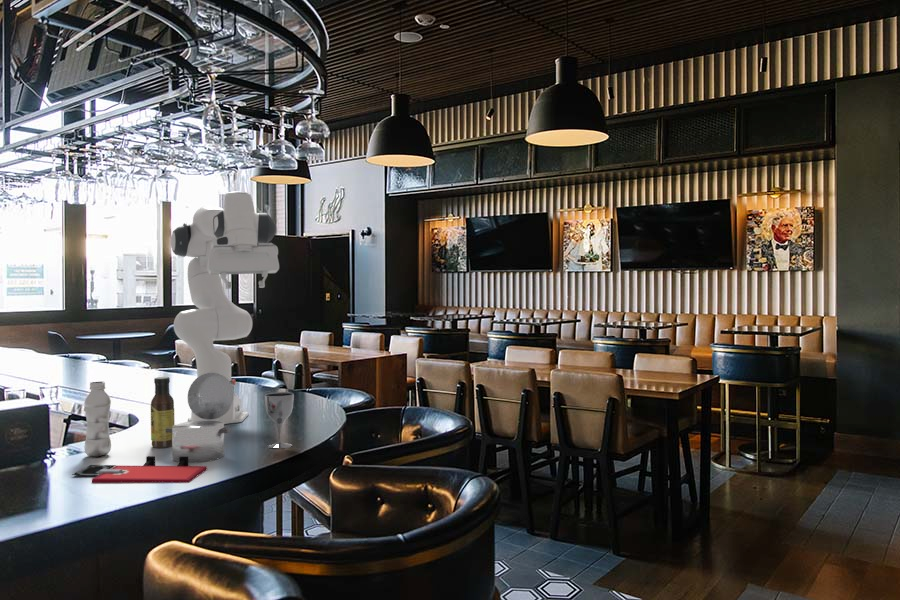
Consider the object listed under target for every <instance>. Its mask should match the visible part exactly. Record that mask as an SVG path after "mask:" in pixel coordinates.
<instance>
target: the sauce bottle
mask: <svg viewBox="0 0 900 600" xmlns="http://www.w3.org/2000/svg"><path fill="white" fill-rule="evenodd" d="M170 379H171V378H170V376H158V377H154V380H153V381H154V382H153V383H154V396H153V397H152V399H151V402H150V440H151V446H152V447H153V448H156V449H157V448H158V449H165V447H166V448H170V447H172V433H166V429H167V428H169V427H173V426H174V425H176V424H175V404H174V403H175V401H174V398H173V396H172V395H171V394H170V382H171V381H170Z"/></svg>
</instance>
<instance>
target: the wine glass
mask: <svg viewBox="0 0 900 600" xmlns="http://www.w3.org/2000/svg"><path fill="white" fill-rule="evenodd" d="M294 398H295V397H294V393H293V392H289V391H288V392H287V391H280V392H279V391H277V392H270V393H269V392H268V393H265V394H264V404H265V405H264V406H265V411H266V413H267V415H268V416H269V418H270V419H271V420H272V421H273V423H275V425H276V429H277V438H278V439H277V442H276V443H273V444H272V445H271V444H269V447H271V448H285V449H289V448H292V447H293V444H291V443H286V442H283V441H282V430H283V425H284V423H285V422H286V420H287V419H288V418H289V416H291V414H292V412H293V407H294ZM291 446H292V447H291Z"/></svg>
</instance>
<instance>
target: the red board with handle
mask: <svg viewBox="0 0 900 600" xmlns="http://www.w3.org/2000/svg"><path fill="white" fill-rule="evenodd" d="M206 469H207V470H208V467H207V466H206V465H205V466H204V465H203V466H202V465H201V466H199V465H197V466H196V465H193V466H192V465H189V463H188V457H187V456H181V457H179V462H178V464H177V465H156V456H155V455H150V456H149V455H148V456H146V457H145V462H144V463H143V465H115V464H114V465H113V464H112V465H111V464H110V465H109V464H89V465H87V466H85V467H84V468H82V469H79V470H78V471H76V472H74V473H72V474H71V476H95V477H94V478H92V479H91V483H92V484H100V483H101V484H108V483H109V484H113V483H114V484H122V483H124V484H126V483H127V484H128V483H129V484H132V483H140V484H141V483H142V484H143V483H145V484H146V483H156V484H157V483H159V484H160V483H191V481H192V479H193V478H194V479H195V477H196V476H197V475H198V476H199V474H200V475H202V472H203V471H204V472H205V471H207V470H206ZM204 472H203V473H204ZM198 476H197V477H198ZM197 477H196V478H197ZM194 479H193V480H194Z"/></svg>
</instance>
